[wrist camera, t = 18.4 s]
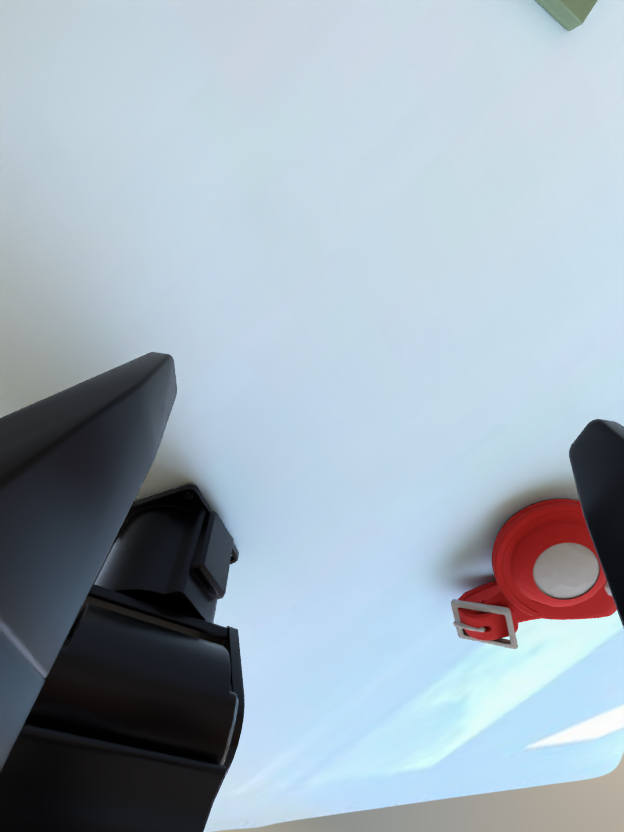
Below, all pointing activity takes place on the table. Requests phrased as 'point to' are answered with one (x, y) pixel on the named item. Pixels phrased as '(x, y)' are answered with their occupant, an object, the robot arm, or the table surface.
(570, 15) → the peg stand
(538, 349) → the table surface
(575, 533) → the tracker holder
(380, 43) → the table surface
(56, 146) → the table surface
